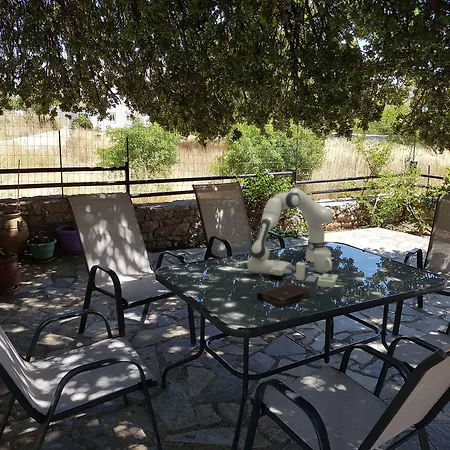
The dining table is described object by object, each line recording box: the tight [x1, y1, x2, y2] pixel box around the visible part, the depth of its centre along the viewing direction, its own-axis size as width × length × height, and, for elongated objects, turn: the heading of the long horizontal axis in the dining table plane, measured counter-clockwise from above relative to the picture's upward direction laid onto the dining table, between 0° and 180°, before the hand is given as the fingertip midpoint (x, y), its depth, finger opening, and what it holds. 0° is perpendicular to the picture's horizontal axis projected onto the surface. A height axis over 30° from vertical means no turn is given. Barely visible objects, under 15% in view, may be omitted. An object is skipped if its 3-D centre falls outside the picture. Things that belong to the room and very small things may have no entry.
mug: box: [313, 251, 333, 274], centre depth 289 cm, size 15×11×13 cm
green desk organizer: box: [316, 273, 339, 289], centre depth 270 cm, size 22×9×4 cm, turn 158°
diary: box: [256, 282, 312, 308], centre depth 241 cm, size 19×25×5 cm
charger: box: [295, 261, 306, 281], centre depth 275 cm, size 4×4×11 cm
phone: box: [303, 274, 319, 285], centre depth 273 cm, size 13×6×1 cm, turn 158°
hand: (293, 269), depth 277 cm, fingers open, 8 cm apart
